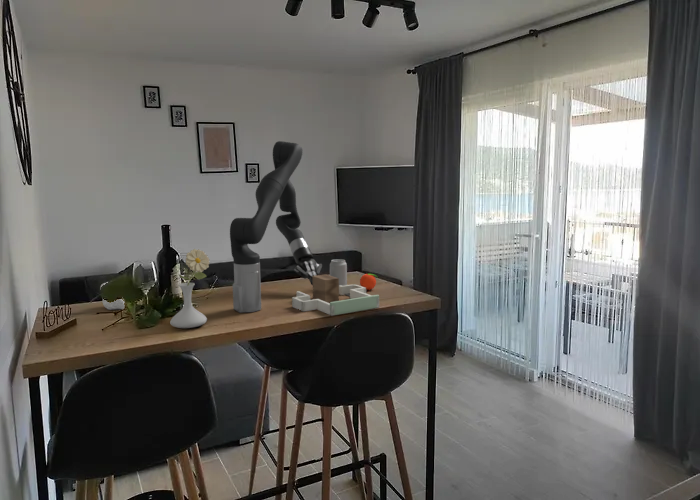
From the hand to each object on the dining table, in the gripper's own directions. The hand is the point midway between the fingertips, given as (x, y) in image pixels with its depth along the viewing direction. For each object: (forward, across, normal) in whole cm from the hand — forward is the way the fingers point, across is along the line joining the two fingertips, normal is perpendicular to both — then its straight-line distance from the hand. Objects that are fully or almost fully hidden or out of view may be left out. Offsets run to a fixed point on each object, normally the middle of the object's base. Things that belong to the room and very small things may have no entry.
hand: (315, 285), depth 203 cm
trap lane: (+14, 0, -8) cm, 17 cm away
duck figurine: (-14, -72, +20) cm, 76 cm away
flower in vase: (+13, -54, -7) cm, 56 cm away
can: (-3, +16, +9) cm, 19 cm away
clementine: (+6, +24, +1) cm, 25 cm away
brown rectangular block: (+9, 0, -2) cm, 9 cm away
